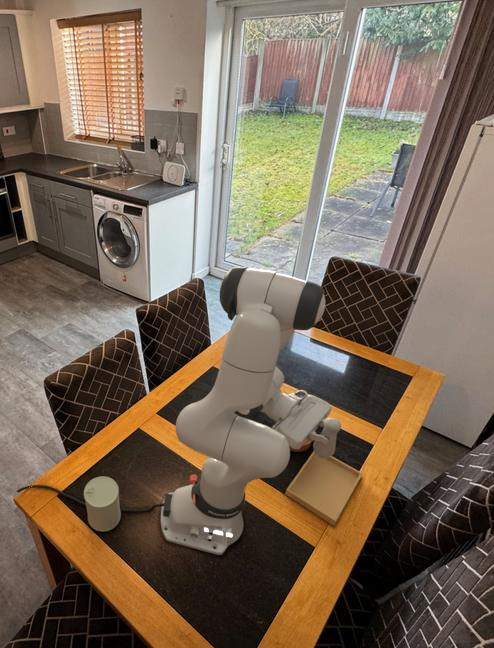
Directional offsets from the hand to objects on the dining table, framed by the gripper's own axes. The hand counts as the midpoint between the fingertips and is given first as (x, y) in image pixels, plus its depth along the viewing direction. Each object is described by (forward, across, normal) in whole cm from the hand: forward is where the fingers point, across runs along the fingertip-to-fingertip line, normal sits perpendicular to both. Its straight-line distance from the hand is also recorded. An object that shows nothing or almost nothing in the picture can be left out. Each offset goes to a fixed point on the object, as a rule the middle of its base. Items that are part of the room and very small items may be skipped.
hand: (331, 436), depth 112 cm
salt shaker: (-1, 0, +8) cm, 8 cm away
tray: (+3, -3, +17) cm, 17 cm away
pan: (-12, +8, +17) cm, 22 cm away
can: (-35, -54, +17) cm, 67 cm away
